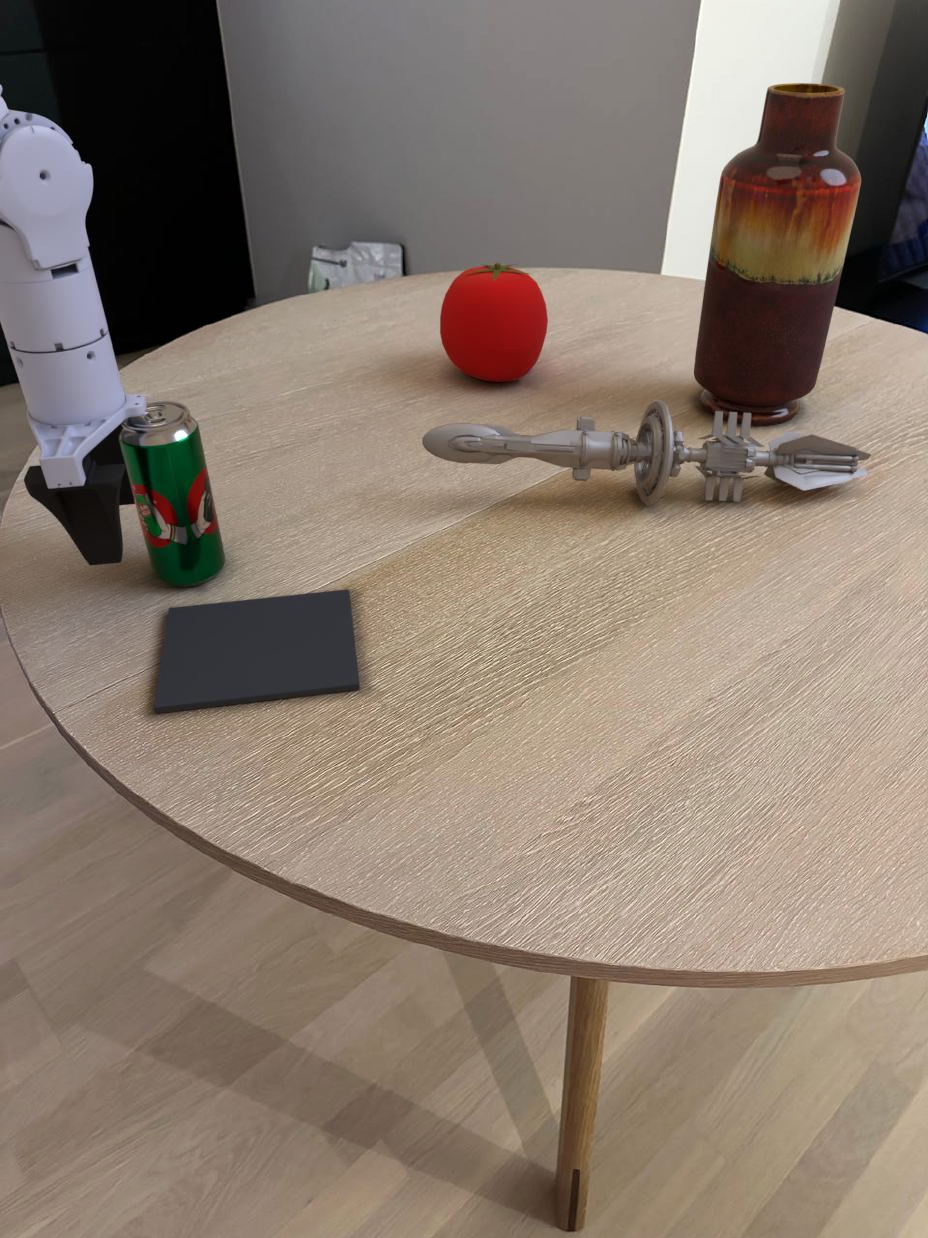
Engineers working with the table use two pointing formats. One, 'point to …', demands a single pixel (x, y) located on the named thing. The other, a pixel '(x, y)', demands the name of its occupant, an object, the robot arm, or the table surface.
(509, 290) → the tomato
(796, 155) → the vase
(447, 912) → the table surface
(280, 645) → the mat
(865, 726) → the table surface
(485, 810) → the table surface
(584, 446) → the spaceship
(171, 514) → the soda can
